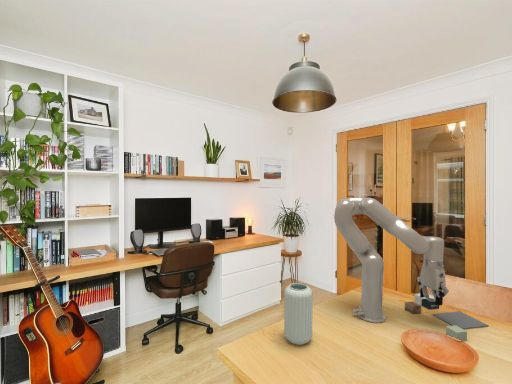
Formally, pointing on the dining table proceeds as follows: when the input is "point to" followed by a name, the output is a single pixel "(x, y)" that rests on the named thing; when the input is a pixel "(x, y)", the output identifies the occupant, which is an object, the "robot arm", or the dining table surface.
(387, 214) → the robot arm
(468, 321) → the slate mat
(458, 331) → the sage block
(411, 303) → the walnut block
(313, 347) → the dining table surface
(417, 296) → the small box
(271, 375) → the dining table surface
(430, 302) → the watch
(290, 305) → the vase
